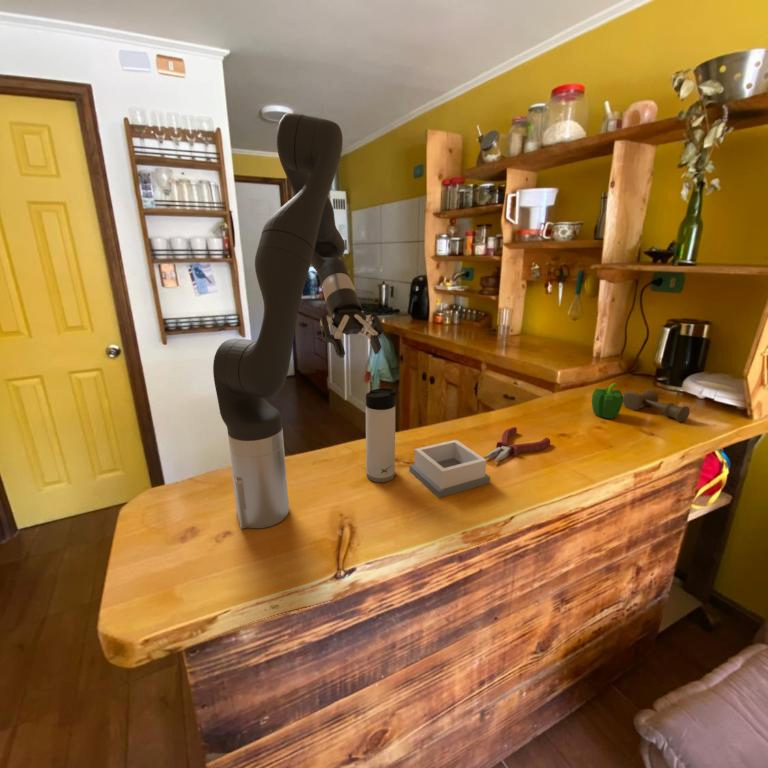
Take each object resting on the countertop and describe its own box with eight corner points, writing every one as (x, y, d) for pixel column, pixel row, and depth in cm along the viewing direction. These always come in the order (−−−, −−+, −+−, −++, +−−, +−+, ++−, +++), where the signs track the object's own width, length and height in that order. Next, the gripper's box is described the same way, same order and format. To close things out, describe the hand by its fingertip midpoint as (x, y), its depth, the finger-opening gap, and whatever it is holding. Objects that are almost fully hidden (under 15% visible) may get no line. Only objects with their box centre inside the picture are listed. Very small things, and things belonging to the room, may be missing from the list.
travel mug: (391, 485, 88) (391, 396, 82) (362, 480, 90) (360, 392, 84) (399, 471, 94) (400, 387, 87) (372, 466, 96) (371, 383, 90)
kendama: (672, 427, 119) (610, 403, 136) (693, 422, 123) (630, 399, 140) (678, 407, 117) (614, 385, 134) (698, 403, 121) (634, 383, 138)
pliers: (468, 456, 101) (468, 446, 101) (511, 433, 114) (512, 424, 114) (509, 474, 93) (511, 463, 93) (551, 447, 106) (553, 437, 106)
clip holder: (438, 498, 83) (439, 473, 82) (409, 471, 94) (409, 449, 92) (489, 483, 89) (491, 460, 87) (456, 459, 99) (458, 438, 97)
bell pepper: (602, 422, 121) (608, 389, 117) (584, 412, 128) (589, 381, 125) (627, 420, 122) (633, 387, 119) (608, 410, 130) (613, 379, 127)
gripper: (315, 288, 93) (334, 347, 87) (372, 285, 99) (394, 341, 93) (309, 309, 100) (327, 366, 93) (364, 305, 106) (383, 359, 99)
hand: (360, 354), depth 93 cm, fingers open, 8 cm apart
